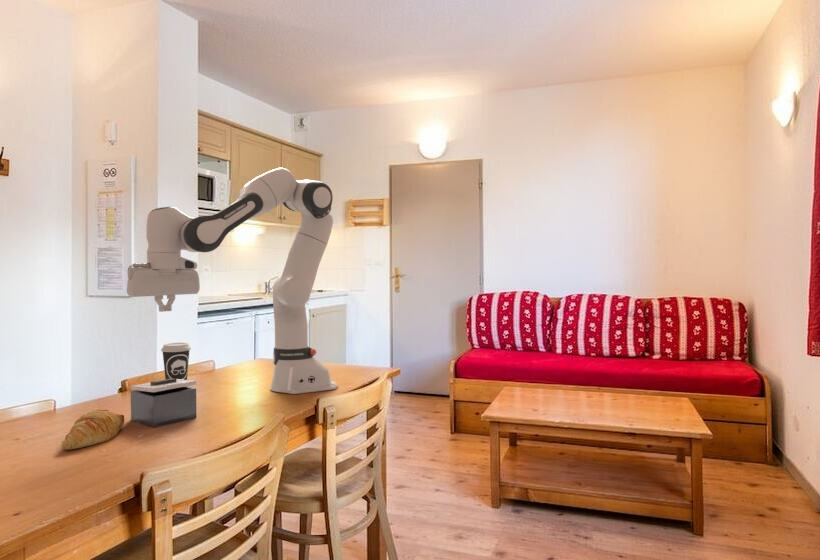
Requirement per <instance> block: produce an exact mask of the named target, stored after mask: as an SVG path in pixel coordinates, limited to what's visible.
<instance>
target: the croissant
mask: <svg viewBox="0 0 820 560" xmlns="http://www.w3.org/2000/svg"><path fill="white" fill-rule="evenodd" d="M124 423H125V417H124V415H123V414H118V413H114V412H112V411H110V410H109V409H97V410H93V411H91V412H87V413H86V414H83V415H81V416H80V417H79V418H78V419H76V421H74V423H73V425H72V427H71V428H70V430H69V432H68V433H67V434H66V435H65V438H64V439H63V440H62V441H61V449H63V450H65V451H69V450H77V449H81V448H85V447H89V446H94V445H96V444H97V443H98V444H100V443H101V442H102V443H104V442H108V441H109V440H110V439H112V438H114V437H115V436H117V435H118V433H119V431H120V429H122V427H123V425H124Z"/></svg>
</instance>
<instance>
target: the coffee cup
mask: <svg viewBox="0 0 820 560" xmlns="http://www.w3.org/2000/svg"><path fill="white" fill-rule="evenodd" d="M191 350H192V349H191V346H190V345H189V342H168V343H164V344H163V346H162V347H161V350H160V352H162V358H163V359H162V361H163V368H164V369H163V370H164V376H165V377H164V378H165V379H171V378H173V379H182V380H188V371H189V370H188V369H189V358H190V351H191ZM165 379H164V380H165Z"/></svg>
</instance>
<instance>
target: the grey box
mask: <svg viewBox="0 0 820 560" xmlns="http://www.w3.org/2000/svg"><path fill="white" fill-rule="evenodd" d="M196 418H197V388H195V387H192V386H185V387H180V388H174V389H169V390H164V391H158V392H146V391H139V390H131V389H130V420H131V421H132V420H133V422H135V421H136V423H138V422H139V424H141V423H142V424H141V425H144V424H145V426H147V425H148V427H151V428H158V426H159V427H161V426H162V427H163V426H167V425H171V424H176V423H178V422H179V423H180V422H182V421H187V420H191V419H196Z"/></svg>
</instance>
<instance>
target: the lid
mask: <svg viewBox="0 0 820 560" xmlns="http://www.w3.org/2000/svg"><path fill="white" fill-rule="evenodd" d="M195 385H197V380H193V379H192V380H191V379H187V380H182V379H173V378H171V379H159V380H154V381H150V382H145V383H140V384H134V385H130V391H131V390H139V391H146V392H158V391H164V390H169V389H174V388H180V387H185V386H188V387H191V386H195Z"/></svg>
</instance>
